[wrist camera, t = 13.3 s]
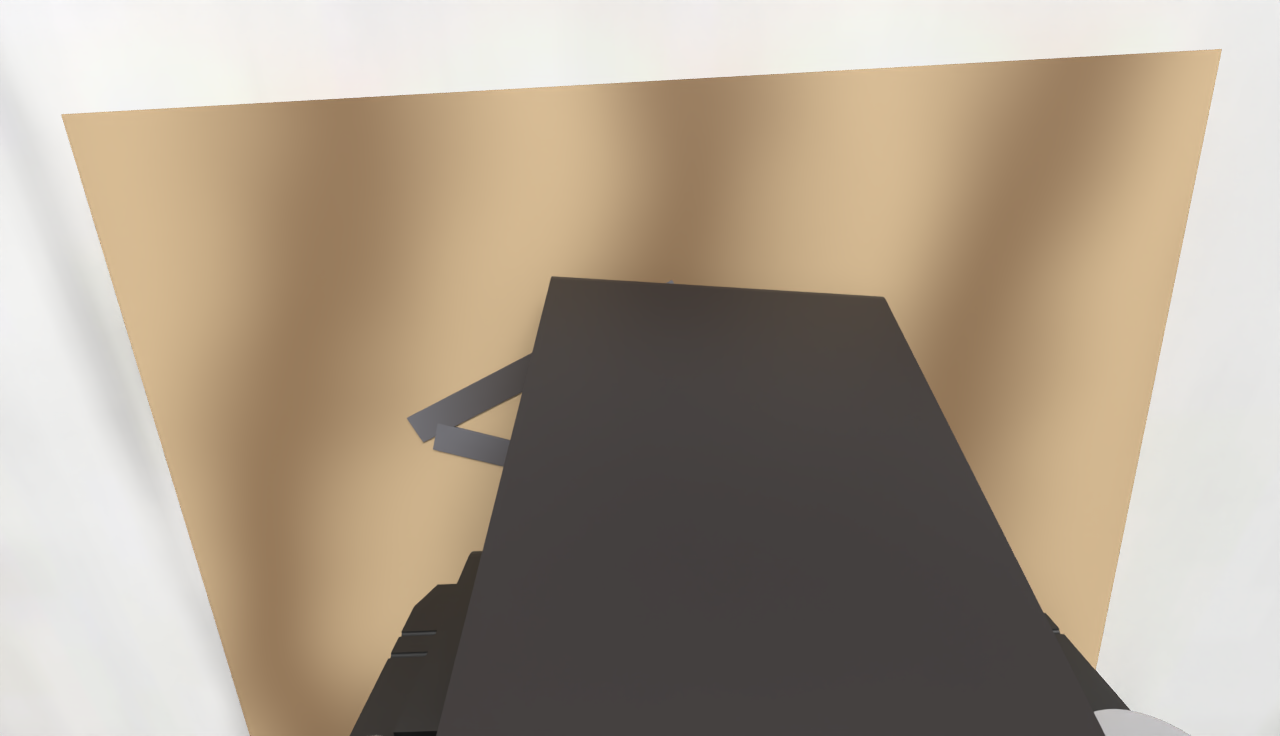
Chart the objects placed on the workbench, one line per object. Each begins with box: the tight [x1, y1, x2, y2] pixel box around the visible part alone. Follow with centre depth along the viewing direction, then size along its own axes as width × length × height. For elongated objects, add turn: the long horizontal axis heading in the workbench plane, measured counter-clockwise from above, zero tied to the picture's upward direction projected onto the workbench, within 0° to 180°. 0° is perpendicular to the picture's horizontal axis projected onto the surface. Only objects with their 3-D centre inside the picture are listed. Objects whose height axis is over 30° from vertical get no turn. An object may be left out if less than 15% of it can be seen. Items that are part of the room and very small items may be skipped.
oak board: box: [61, 49, 1222, 736], centre depth 14 cm, size 20×16×1 cm
